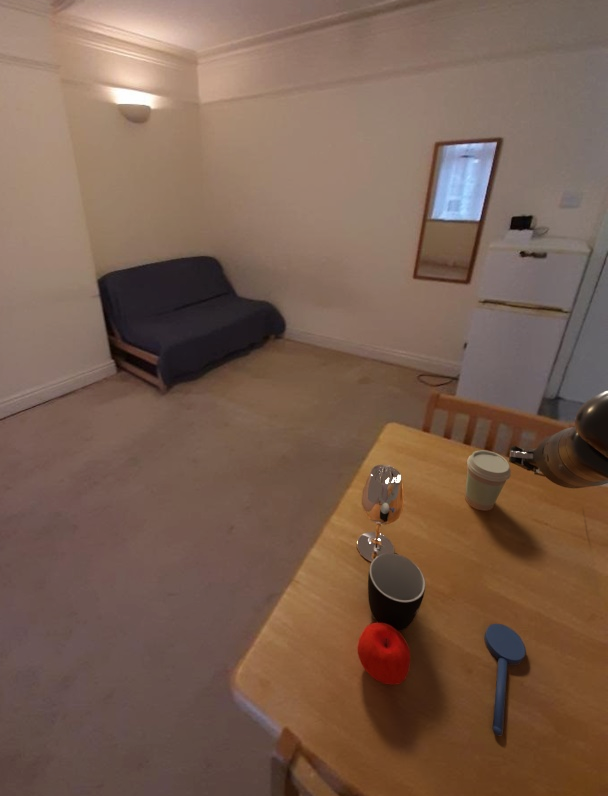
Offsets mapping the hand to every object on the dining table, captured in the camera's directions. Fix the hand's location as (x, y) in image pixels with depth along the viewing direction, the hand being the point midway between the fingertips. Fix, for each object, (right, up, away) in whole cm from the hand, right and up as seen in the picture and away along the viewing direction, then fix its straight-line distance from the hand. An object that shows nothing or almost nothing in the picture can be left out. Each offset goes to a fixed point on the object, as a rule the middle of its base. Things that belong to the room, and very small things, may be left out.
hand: (539, 469), depth 69 cm
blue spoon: (-11, -31, -7) cm, 33 cm away
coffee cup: (+4, -15, +25) cm, 29 cm away
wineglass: (-23, -21, +15) cm, 35 cm away
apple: (-29, -31, -5) cm, 42 cm away
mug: (-24, -26, +4) cm, 36 cm away
